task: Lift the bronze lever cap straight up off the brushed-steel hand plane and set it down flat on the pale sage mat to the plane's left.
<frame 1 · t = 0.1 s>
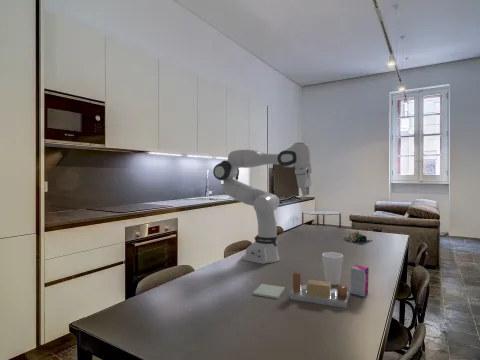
hand: (306, 195, 168), 39 cm above the table, tool pointing down, fingers open, 8 cm apart
sage mat: (269, 291, 129), on the table
plated dish: (355, 240, 228), on the table
foam cup: (332, 282, 140), on the table
lever cap: (319, 292, 122), point 2 cm above the table, touching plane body
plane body: (319, 298, 122), on the table
supplement box: (359, 294, 126), on the table
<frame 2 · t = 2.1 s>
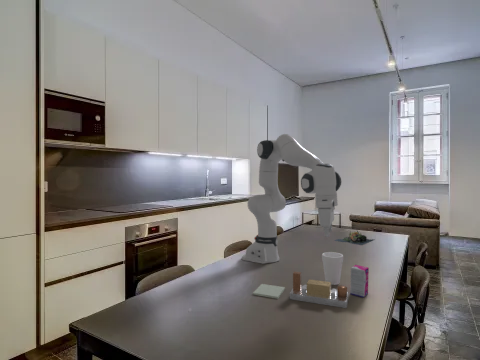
hand: (328, 234, 126), 25 cm above the table, tool pointing down, fingers open, 8 cm apart
nothing on the table moved.
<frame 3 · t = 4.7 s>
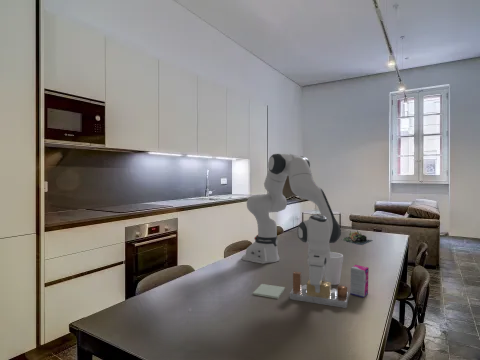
hand: (319, 289, 122), 4 cm above the table, tool pointing down, fingers closed on lever cap, 5 cm apart
lever cap: (319, 292, 122), point 2 cm above the table, touching gripper, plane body
everything else where it was.
when the fingers open (4 cm above the table, at t = 10.2 s): lever cap drops 1 cm, resting on sage mat.
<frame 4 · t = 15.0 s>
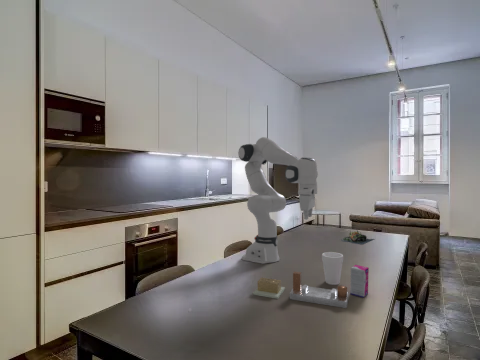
hand: (308, 218, 148), 29 cm above the table, tool pointing down, fingers open, 8 cm apart
plated dish: (355, 240, 230), on the table
lever cap: (269, 289, 130), point 1 cm above the table, touching sage mat
everything else where it was.
at the end: lever cap inside the target area on the sage mat (0.1 cm from its centre), point 0.8 cm above the sage mat's base; lever cap tilted 0°; the gripper is holding nothing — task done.
